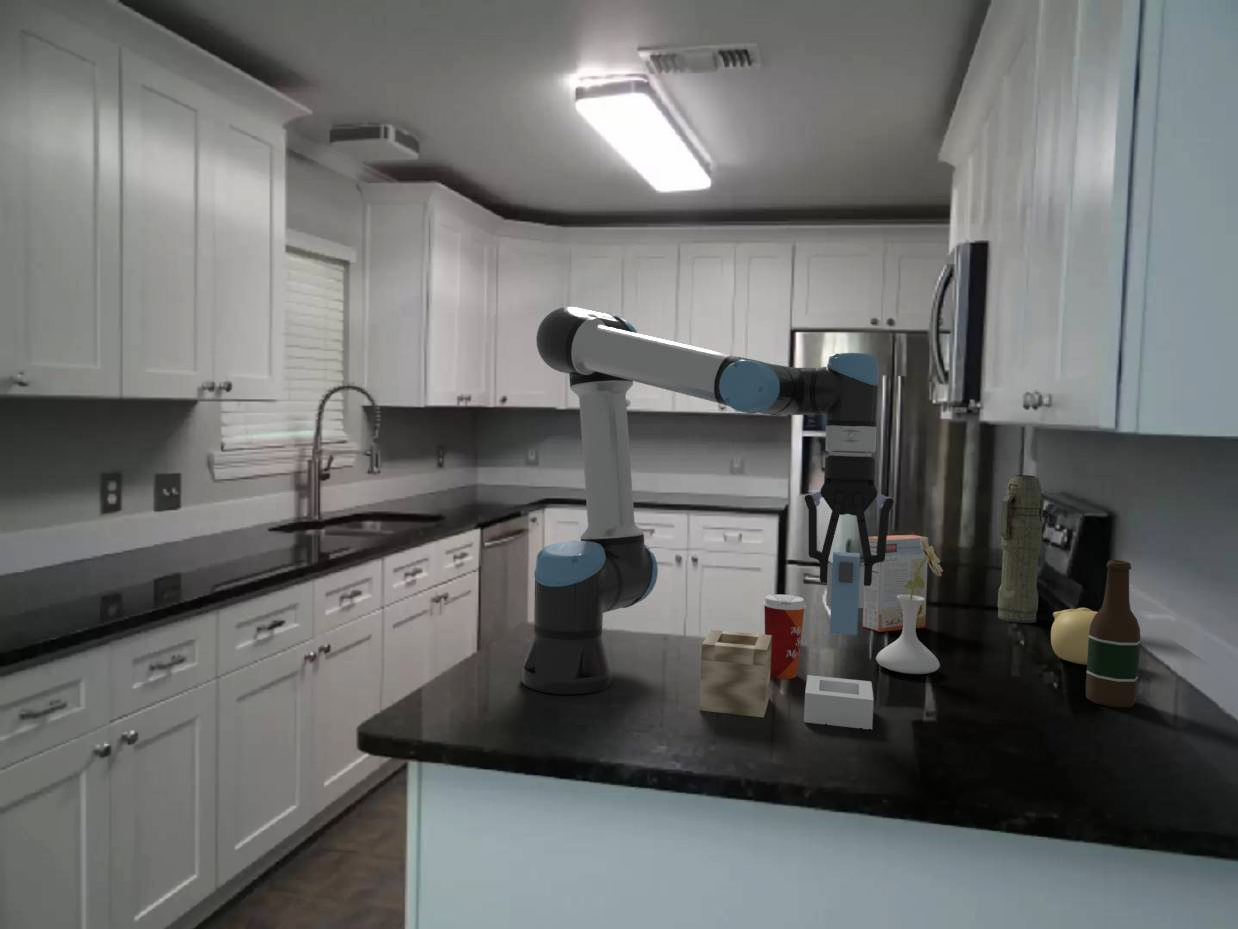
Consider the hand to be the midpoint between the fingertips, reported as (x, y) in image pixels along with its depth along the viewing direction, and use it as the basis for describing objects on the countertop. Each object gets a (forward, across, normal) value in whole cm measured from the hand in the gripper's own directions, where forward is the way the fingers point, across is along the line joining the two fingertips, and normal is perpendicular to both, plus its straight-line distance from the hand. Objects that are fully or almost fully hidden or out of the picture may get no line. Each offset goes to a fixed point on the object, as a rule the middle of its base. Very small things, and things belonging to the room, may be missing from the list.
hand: (844, 605), depth 137 cm
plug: (+4, 0, 0) cm, 4 cm away
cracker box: (+18, +12, +68) cm, 71 cm away
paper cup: (+18, -10, +20) cm, 29 cm away
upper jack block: (+17, -16, 0) cm, 24 cm away
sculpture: (+18, +47, +51) cm, 71 cm away
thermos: (+18, +42, +90) cm, 101 cm away
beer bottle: (+18, +45, +24) cm, 54 cm away
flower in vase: (+18, +13, +32) cm, 39 cm away
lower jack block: (+17, 0, 0) cm, 17 cm away
